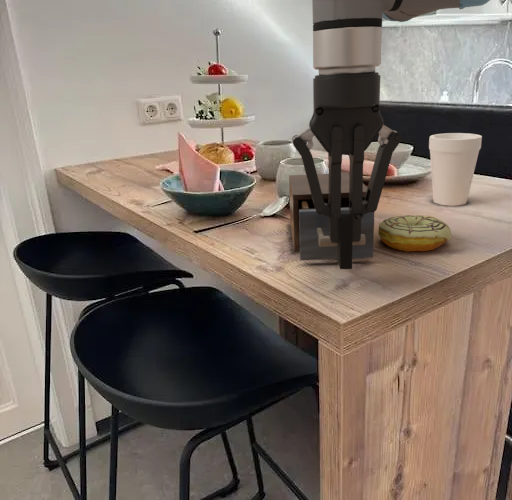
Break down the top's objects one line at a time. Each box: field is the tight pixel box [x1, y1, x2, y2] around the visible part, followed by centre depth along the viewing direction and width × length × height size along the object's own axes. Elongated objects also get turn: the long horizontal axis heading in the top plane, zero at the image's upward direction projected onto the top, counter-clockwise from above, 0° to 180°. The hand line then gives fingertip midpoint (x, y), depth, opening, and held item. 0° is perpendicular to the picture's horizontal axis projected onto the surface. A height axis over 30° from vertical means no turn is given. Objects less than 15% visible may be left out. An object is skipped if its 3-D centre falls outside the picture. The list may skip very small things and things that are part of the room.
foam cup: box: [428, 132, 483, 207], centre depth 99 cm, size 10×9×13 cm
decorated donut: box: [378, 214, 453, 253], centre depth 79 cm, size 10×11×4 cm
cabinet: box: [288, 172, 368, 252], centre depth 83 cm, size 15×12×9 cm
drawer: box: [299, 198, 375, 261], centre depth 74 cm, size 19×10×7 cm, turn 179°
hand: (344, 265), depth 64 cm, fingers closed
